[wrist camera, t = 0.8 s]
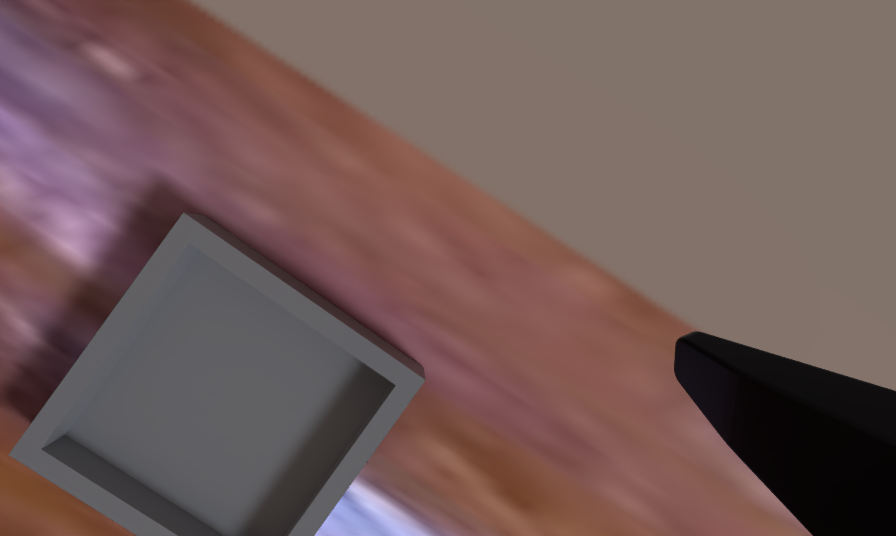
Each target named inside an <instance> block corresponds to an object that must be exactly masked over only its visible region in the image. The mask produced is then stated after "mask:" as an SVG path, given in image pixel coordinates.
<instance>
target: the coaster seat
mask: <svg viewBox="0 0 896 536" xmlns="http://www.w3.org/2000/svg"><path fill="white" fill-rule="evenodd" d="M424 381H425V373H424V367H422V366H421V365H419V364H418V363H416V362H415V361H413V360H412V359H411V358H409V357H408V356H406V355H405V354H403V353H402V352H401V351H399V350H398V349H396V348H395V347H393V346H392V345H390V344H389V343H388V342H386V341H385V340H383V339H382V338H380V337H379V336H377V335H376V334H375V333H373V332H372V331H370V330H369V329H367V328H366V327H365V326H363V325H362V324H360V323H359V322H357V321H356V320H354V319H353V318H352V317H350V316H349V315H347V314H346V313H344V312H343V311H341V310H340V309H339V308H337V307H336V306H334V305H333V304H331V303H330V302H329V301H327V300H326V299H324V298H323V297H321V296H320V295H318V294H317V293H316V292H314V291H313V290H311V289H310V288H308V287H307V286H305V285H304V284H303V283H301V282H300V281H298V280H297V279H295V278H294V277H293V276H291V275H290V274H288V273H287V272H285V271H284V270H282V269H281V268H280V267H278V266H277V265H275V264H274V263H272V262H271V261H269V260H268V259H267V258H265V257H264V256H262V255H261V254H259V253H258V252H257V251H255V250H254V249H252V248H251V247H249V246H248V245H246V244H245V243H244V242H242V241H241V240H239V239H238V238H236V237H235V236H234V235H232V234H231V233H229V232H228V231H226V230H225V229H223V228H222V227H221V226H219V225H218V224H216V223H215V222H213V221H212V220H210V219H209V218H208V217H206V216H205V215H200V214H192V213H184V212H183V214H182V215H181V216H180V218H179V219H178V221H177V222H176V223H175V225H174V226H173V228H172V229H171V230H170V232H169V233H168V234H167V236H166V237H165V239H164V240H163V241H162V243H161V244H160V246H159V247H158V248H157V250H156V251H155V252H154V254H153V255H152V257H151V258H150V259H149V261H148V262H147V264H146V265H145V266H144V268H143V269H142V271H141V272H140V273H139V275H138V276H137V277H136V279H135V280H134V282H133V283H132V284H131V286H130V287H129V289H128V290H127V291H126V293H125V294H124V296H123V297H122V298H121V300H120V301H119V302H118V304H117V305H116V307H115V308H114V309H113V311H112V312H111V314H110V315H109V316H108V318H107V319H106V321H105V322H104V323H103V325H102V326H101V327H100V329H99V330H98V332H97V333H96V334H95V336H94V337H93V339H92V340H91V341H90V343H89V344H88V346H87V347H86V348H85V350H84V351H83V352H82V354H81V355H80V357H79V358H78V359H77V361H76V362H75V364H74V365H73V366H72V368H71V369H70V371H69V372H68V373H67V375H66V376H65V377H64V379H63V380H62V382H61V383H60V384H59V386H58V387H57V389H56V390H55V391H54V393H53V394H52V395H51V397H50V398H49V400H48V401H47V402H46V404H45V405H44V407H43V408H42V409H41V411H40V412H39V414H38V415H37V416H36V418H35V419H34V420H33V422H32V423H31V425H30V426H29V427H28V429H27V430H26V432H25V433H24V434H23V436H22V437H21V439H20V440H19V441H18V443H17V444H16V445H15V447H14V448H13V450H12V451H11V452H10V454H9V456H11V457H13V458H14V459H16V460H17V461H19V462H21V463H22V464H24V465H25V466H27V467H28V468H30V469H32V470H33V471H35V472H36V473H38V474H40V475H41V476H43V477H44V478H46V479H48V480H49V481H51V482H52V483H54V484H56V485H57V486H59V487H60V488H62V489H64V490H65V491H67V492H68V493H70V494H72V495H73V496H75V497H76V498H78V499H80V500H81V501H83V502H84V503H86V504H87V505H89V506H91V507H92V508H94V509H95V510H97V511H99V512H100V513H102V514H103V515H105V516H107V517H108V518H110V519H111V520H113V521H115V522H116V523H118V524H119V525H121V526H123V527H124V528H126V529H127V530H129V531H131V532H132V533H134V534H135V535H137V536H314V535H315V534H316V532H317V531H318V530H319V528H320V527H321V525H322V524H323V523H324V521H325V520H326V518H327V517H328V516H329V514H330V513H331V511H332V510H333V509H334V507H335V506H336V504H337V503H338V502H339V500H340V499H341V497H342V496H343V495H344V493H345V492H346V490H347V489H348V488H349V486H350V485H351V483H352V482H353V481H354V479H355V478H356V476H357V475H358V474H359V472H360V471H361V469H362V468H363V467H364V465H365V464H366V462H367V461H368V460H369V458H370V457H371V455H372V454H373V453H374V451H375V450H376V448H377V447H378V446H379V444H380V443H381V442H382V440H383V439H384V437H385V436H386V435H387V433H388V432H389V430H390V429H391V428H392V426H393V425H394V423H395V422H396V421H397V419H398V418H399V416H400V415H401V414H402V412H403V411H404V409H405V408H406V407H407V405H408V404H409V402H410V401H411V400H412V398H413V397H414V395H415V394H416V393H417V391H418V390H419V388H420V387H421V386H422V384H423V383H424Z"/></svg>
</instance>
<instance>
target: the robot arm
mask: <svg viewBox="0 0 896 536" xmlns="http://www.w3.org/2000/svg"><path fill="white" fill-rule="evenodd" d="M674 372H675V376H676V378H677V380H678V382H679V383H680V384H681V386H682V387H683V388H684V389H685V391H686V392H687V393H688V395H689V396H690V397H691V399H692V400H693V401H694V402H695V404H696V405H697V406H698V408H699V409H700V410H701V412H702V413H703V414H704V415H705V417H706V418H707V419H708V421H709V422H710V423H711V424H712V426H713V427H714V428H715V430H716V431H717V432H718V434H719V435H720V436H721V437H722V438H723V440H724V441H725V442H726V443H727V445H728V446H729V447H730V448H731V449H732V450H733V451H734V452H735V454H736V455H737V456H738V457H739V458H740V459H741V460H742V461H743V462H744V463H745V464H746V465H747V466H748V467H749V468H750V470H751V471H752V472H753V473H754V474H755V475H756V476H757V477H758V478H759V479H760V480H761V481H762V482H763V483H764V484H765V485H766V487H767V488H768V489H769V490H770V491H771V492H772V493H773V494H774V495H775V496H776V497H777V498H778V499H779V500H780V501H781V502H782V503H783V505H784V506H785V507H786V508H787V509H788V510H789V511H790V512H791V513H792V514H793V515H794V516H795V517H796V518H797V519H798V520H799V522H800V523H801V524H802V525H803V526H804V527H805V528H806V529H807V530H808V531H809V532H810V533H811V534H812V535H813V536H896V391H894V390H891V389H888V388H884V387H881V386H878V385H874V384H871V383H868V382H864V381H861V380H858V379H855V378H851V377H848V376H844V375H841V374H838V373H835V372H831V371H828V370H825V369H822V368H818V367H815V366H812V365H808V364H805V363H802V362H799V361H795V360H792V359H789V358H785V357H782V356H779V355H775V354H772V353H769V352H765V351H762V350H759V349H756V348H752V347H749V346H746V345H742V344H739V343H736V342H733V341H729V340H726V339H723V338H719V337H716V336H713V335H709V334H706V333H703V332H698V331H696V332H691V333H689V334H687V335H685V336H682V337H680V338H679V339H678V340H677V341H676V345H675V360H674Z"/></svg>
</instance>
